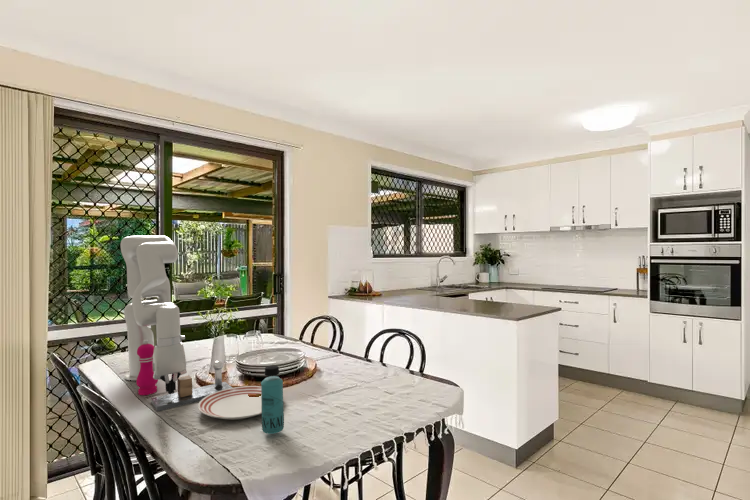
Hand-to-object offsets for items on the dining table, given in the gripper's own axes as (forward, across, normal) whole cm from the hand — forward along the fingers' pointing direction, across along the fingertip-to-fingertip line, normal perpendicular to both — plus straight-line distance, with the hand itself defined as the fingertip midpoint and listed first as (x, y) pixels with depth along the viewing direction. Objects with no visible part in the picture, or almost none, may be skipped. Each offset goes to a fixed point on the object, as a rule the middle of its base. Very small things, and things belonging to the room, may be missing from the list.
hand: (170, 392), depth 151 cm
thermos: (+4, -10, -69) cm, 70 cm away
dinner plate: (+4, -18, +21) cm, 28 cm away
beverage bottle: (+4, -18, +46) cm, 49 cm away
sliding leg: (+2, -5, 0) cm, 5 cm away
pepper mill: (+4, +4, -17) cm, 18 cm away
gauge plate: (+4, -8, 0) cm, 8 cm away
